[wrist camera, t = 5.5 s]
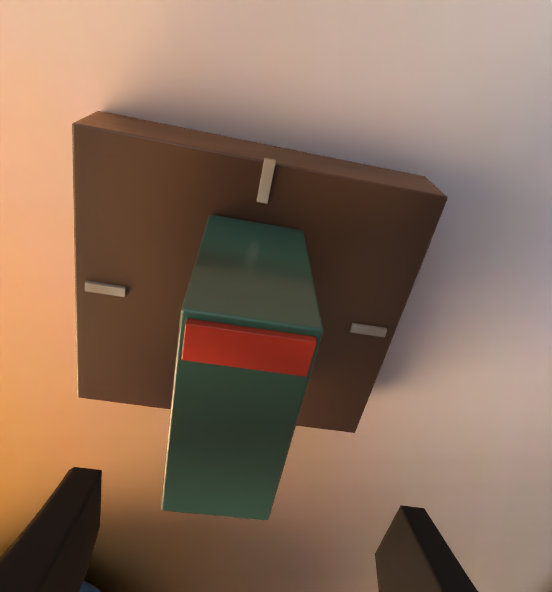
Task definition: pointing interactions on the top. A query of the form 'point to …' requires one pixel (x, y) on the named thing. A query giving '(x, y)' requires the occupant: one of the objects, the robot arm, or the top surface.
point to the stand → (244, 206)
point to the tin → (240, 369)
